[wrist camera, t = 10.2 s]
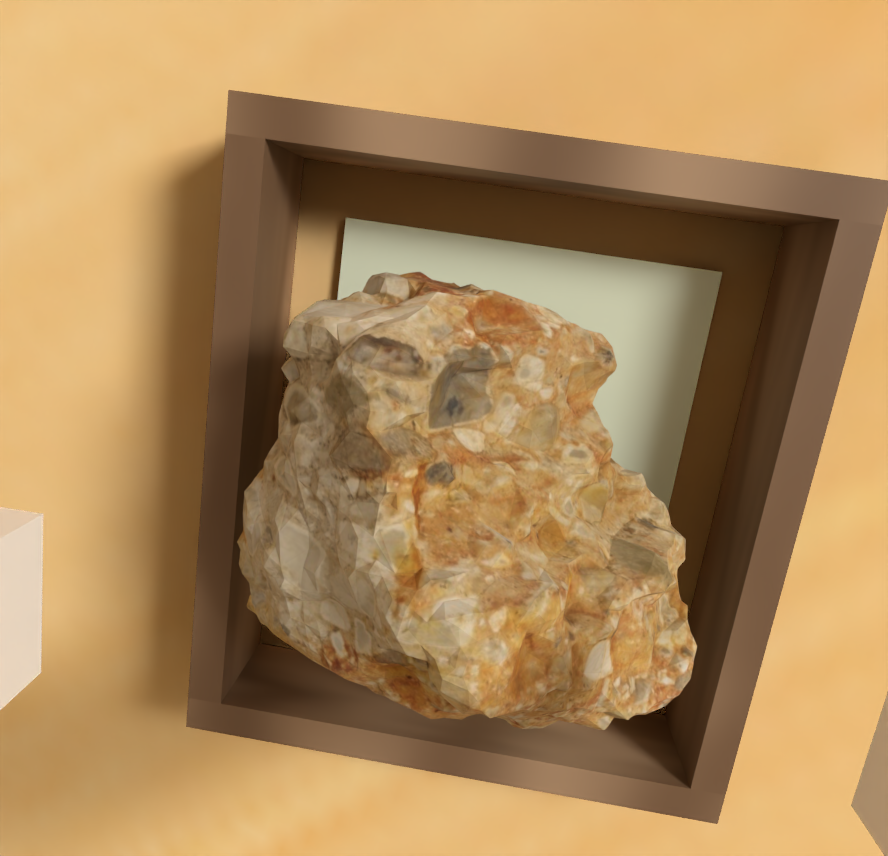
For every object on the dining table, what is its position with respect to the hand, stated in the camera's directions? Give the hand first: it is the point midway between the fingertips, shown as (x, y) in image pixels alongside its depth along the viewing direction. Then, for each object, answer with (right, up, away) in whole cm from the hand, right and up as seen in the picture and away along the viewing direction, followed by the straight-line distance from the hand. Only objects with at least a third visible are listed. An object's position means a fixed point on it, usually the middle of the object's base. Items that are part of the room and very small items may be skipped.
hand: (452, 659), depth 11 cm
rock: (+2, +2, +12) cm, 12 cm away
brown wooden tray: (+2, +3, +12) cm, 12 cm away
